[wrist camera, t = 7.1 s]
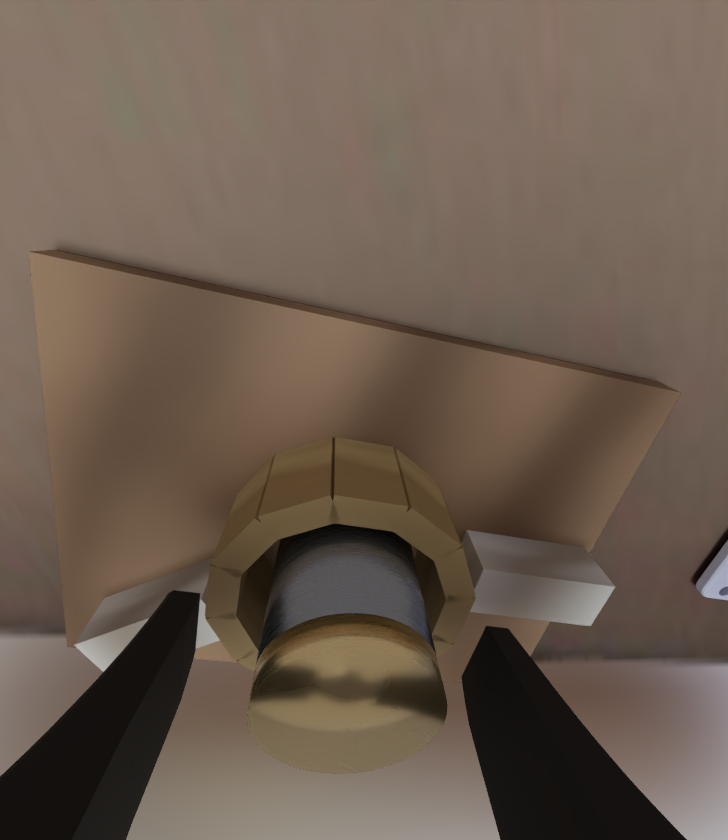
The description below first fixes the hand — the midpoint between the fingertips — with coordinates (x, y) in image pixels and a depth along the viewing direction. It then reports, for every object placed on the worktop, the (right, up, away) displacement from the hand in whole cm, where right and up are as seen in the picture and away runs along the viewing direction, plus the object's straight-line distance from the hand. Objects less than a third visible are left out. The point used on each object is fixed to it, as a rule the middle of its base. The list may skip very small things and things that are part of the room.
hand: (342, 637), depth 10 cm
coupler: (0, +2, +3) cm, 4 cm away
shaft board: (0, +2, +4) cm, 5 cm away
